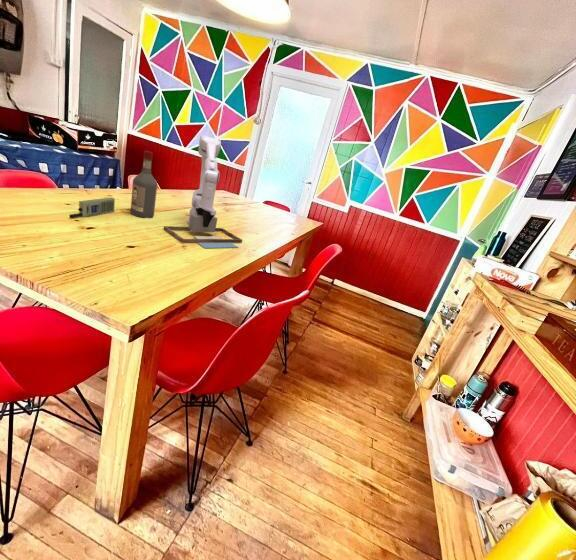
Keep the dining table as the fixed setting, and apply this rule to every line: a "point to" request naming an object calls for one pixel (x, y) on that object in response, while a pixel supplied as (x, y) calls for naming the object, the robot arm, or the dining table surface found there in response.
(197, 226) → the grey rectangular block
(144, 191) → the liquor
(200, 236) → the offcut stack
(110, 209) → the handheld radio
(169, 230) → the dark rectangular frame
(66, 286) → the dining table surface
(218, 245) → the blue mat
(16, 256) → the dining table surface
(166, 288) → the dining table surface
